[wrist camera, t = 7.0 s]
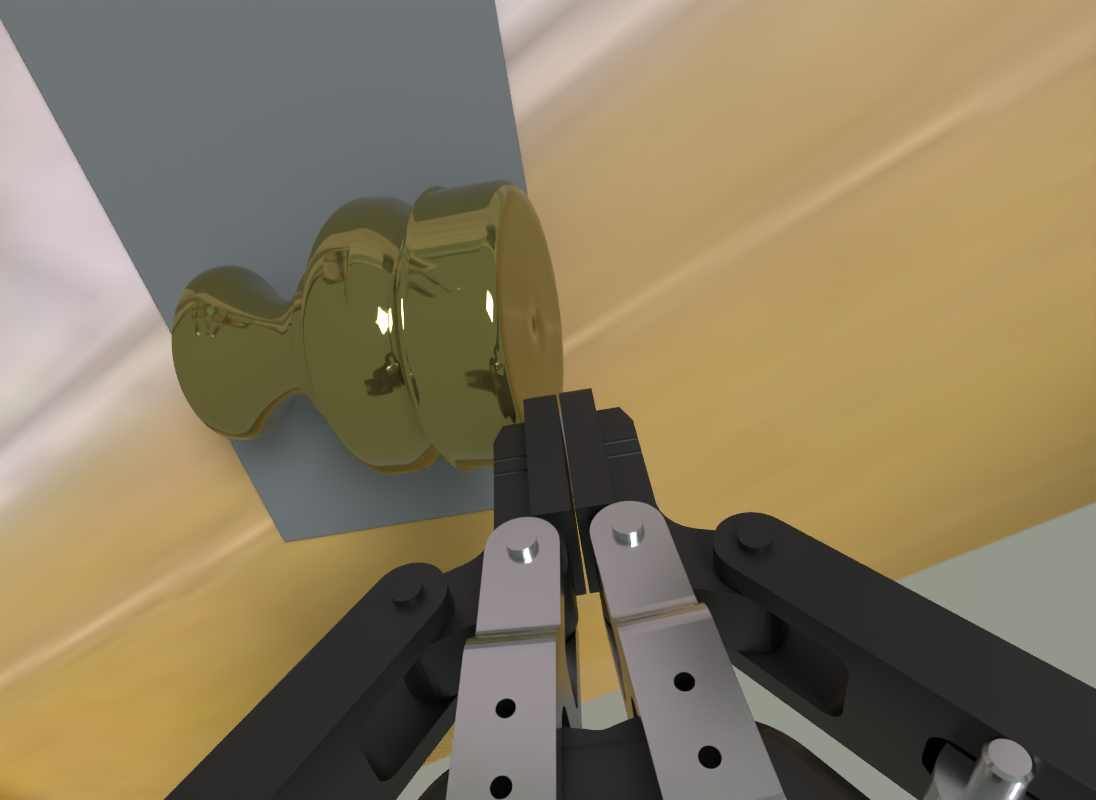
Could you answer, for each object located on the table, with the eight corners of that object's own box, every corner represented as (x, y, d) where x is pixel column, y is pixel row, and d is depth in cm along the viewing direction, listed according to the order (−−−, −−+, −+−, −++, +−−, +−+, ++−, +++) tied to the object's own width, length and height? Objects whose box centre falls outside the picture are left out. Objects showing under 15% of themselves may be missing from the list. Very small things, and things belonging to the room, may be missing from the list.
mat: (472, -128, 16) (471, -130, 16) (577, 490, 28) (578, 495, 28) (-22, -36, 17) (-29, -35, 16) (286, 536, 28) (284, 541, 28)
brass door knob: (576, 347, 23) (306, 371, 25) (524, 125, 18) (197, 180, 20) (549, 528, 18) (211, 538, 20) (467, 281, 13) (33, 332, 15)
